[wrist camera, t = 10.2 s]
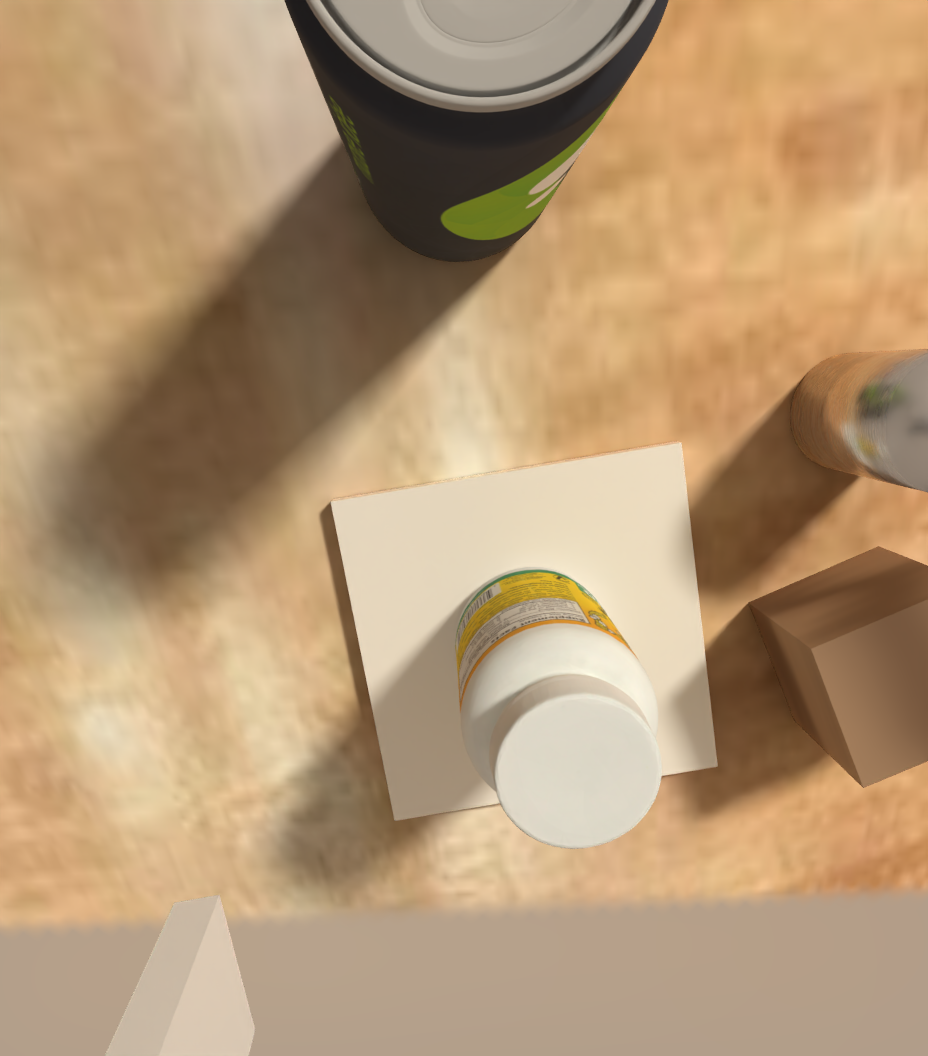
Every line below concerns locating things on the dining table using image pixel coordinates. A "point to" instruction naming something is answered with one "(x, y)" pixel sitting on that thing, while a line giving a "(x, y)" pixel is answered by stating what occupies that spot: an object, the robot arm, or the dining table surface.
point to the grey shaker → (867, 415)
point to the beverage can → (468, 104)
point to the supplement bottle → (556, 709)
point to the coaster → (502, 545)
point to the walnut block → (855, 660)
